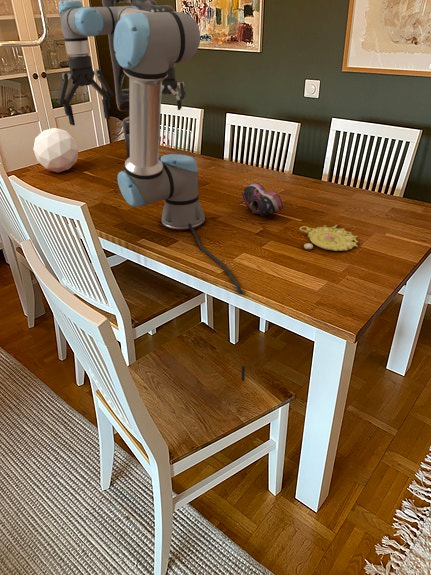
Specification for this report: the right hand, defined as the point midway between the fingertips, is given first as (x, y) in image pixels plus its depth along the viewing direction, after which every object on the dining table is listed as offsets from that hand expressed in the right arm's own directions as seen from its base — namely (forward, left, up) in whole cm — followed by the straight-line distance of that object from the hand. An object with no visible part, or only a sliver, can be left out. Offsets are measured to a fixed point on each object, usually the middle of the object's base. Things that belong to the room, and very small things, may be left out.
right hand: (90, 121), depth 159 cm
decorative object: (-51, -74, -30) cm, 94 cm away
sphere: (+45, +23, -30) cm, 59 cm away
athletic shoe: (-23, -57, -30) cm, 68 cm away
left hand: (+22, -30, -2) cm, 37 cm away
